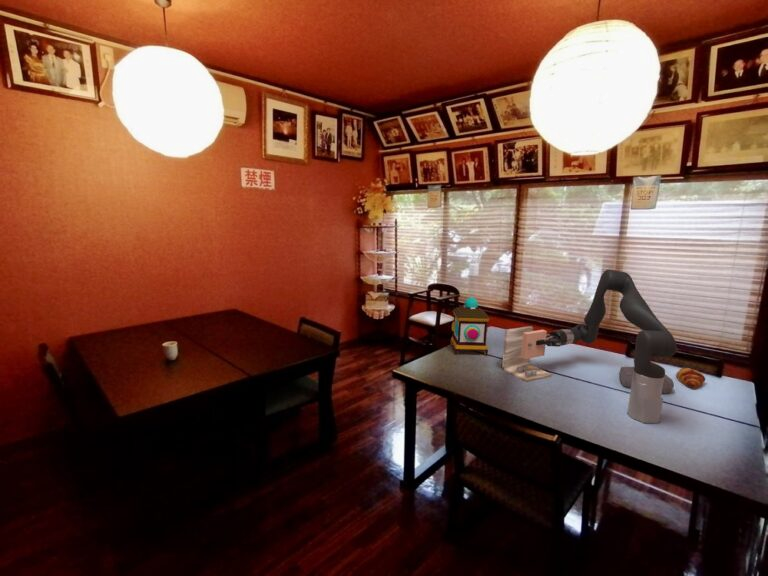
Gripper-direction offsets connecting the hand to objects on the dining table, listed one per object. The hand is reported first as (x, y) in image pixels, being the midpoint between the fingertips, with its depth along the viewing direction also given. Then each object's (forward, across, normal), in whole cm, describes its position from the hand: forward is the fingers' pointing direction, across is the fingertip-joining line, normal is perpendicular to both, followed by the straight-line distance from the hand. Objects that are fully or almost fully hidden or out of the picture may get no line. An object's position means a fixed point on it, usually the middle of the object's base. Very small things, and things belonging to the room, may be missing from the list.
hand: (534, 342), depth 172 cm
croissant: (-63, +33, +17) cm, 73 cm away
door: (0, 0, +7) cm, 7 cm away
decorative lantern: (+7, -39, +17) cm, 43 cm away
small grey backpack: (-38, +28, +17) cm, 51 cm away
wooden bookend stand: (0, -3, +16) cm, 16 cm away
